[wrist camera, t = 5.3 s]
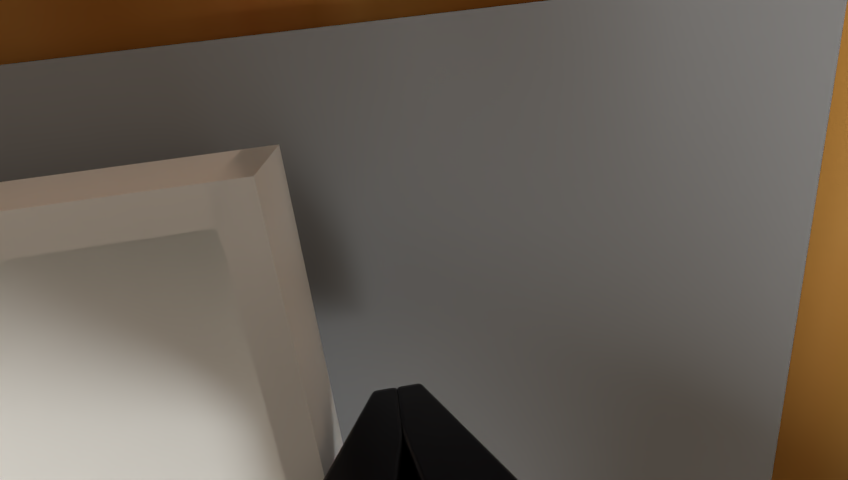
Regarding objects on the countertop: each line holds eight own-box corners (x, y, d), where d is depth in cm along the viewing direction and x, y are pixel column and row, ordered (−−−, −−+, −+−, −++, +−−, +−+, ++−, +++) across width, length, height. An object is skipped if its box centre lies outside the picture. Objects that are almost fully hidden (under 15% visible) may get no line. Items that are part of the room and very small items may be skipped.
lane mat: (837, -34, 9) (852, -36, 9) (759, 491, 13) (767, 500, 13) (-1328, 223, 7) (-1406, 230, 6) (-583, 763, 11) (-607, 782, 11)
